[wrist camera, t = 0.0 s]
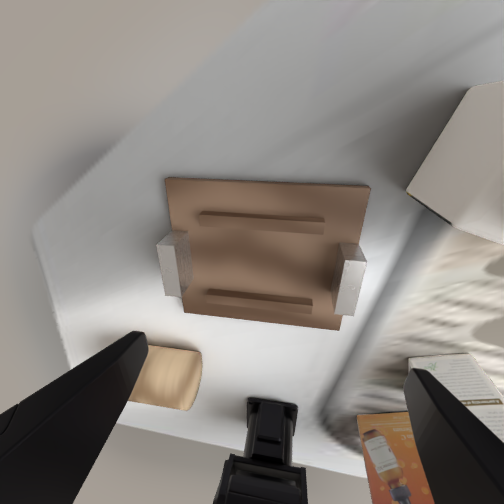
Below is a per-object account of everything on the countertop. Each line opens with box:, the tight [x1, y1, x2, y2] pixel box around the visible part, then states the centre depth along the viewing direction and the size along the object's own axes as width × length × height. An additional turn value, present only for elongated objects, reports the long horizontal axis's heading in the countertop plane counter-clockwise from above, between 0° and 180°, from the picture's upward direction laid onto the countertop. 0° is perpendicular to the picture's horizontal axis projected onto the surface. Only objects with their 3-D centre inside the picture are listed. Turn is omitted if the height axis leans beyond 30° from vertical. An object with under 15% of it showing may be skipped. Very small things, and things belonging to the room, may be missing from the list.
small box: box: [357, 412, 435, 504], centre depth 27 cm, size 8×6×10 cm
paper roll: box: [128, 345, 202, 411], centre depth 30 cm, size 6×10×6 cm, turn 90°
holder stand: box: [156, 177, 371, 331], centre depth 22 cm, size 14×16×4 cm
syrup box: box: [408, 354, 504, 442], centre depth 21 cm, size 6×6×14 cm
